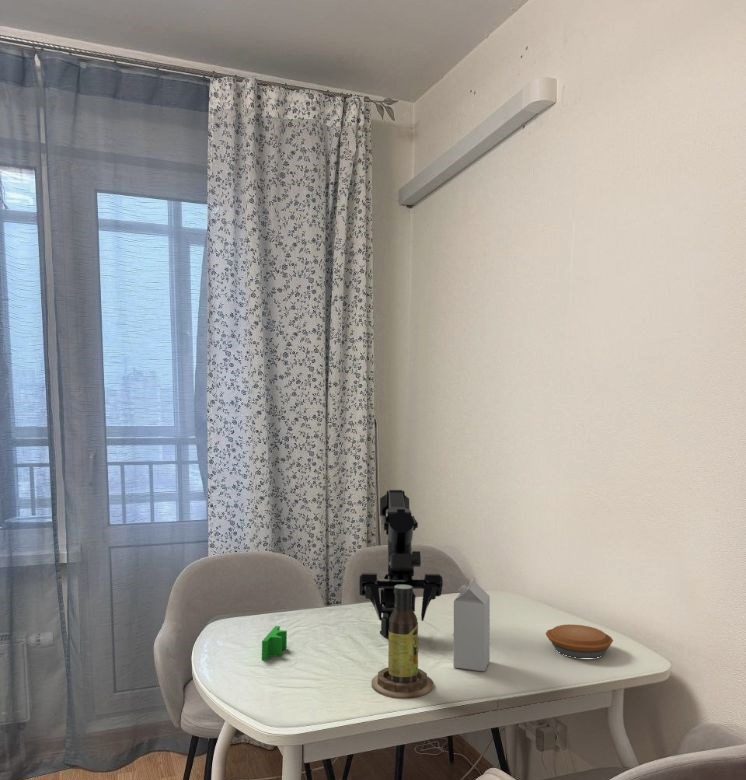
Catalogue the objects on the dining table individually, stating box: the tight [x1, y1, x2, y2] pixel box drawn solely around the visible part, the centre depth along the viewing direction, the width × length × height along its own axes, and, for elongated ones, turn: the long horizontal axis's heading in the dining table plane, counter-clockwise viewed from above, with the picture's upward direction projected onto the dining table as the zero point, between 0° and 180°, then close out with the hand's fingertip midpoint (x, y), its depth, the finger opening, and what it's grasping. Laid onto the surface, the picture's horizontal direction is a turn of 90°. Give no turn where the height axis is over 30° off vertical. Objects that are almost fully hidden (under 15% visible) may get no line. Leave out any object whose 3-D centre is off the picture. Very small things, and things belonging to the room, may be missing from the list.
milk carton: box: [452, 577, 491, 672], centre depth 150 cm, size 7×7×19 cm
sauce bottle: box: [387, 585, 419, 683], centre depth 138 cm, size 6×6×20 cm
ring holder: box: [371, 667, 434, 699], centre depth 138 cm, size 13×13×2 cm
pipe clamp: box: [261, 625, 288, 661], centre depth 157 cm, size 11×4×5 cm, turn 173°
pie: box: [545, 624, 614, 659], centre depth 159 cm, size 16×16×5 cm
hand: (401, 619), depth 143 cm, fingers open, 9 cm apart
